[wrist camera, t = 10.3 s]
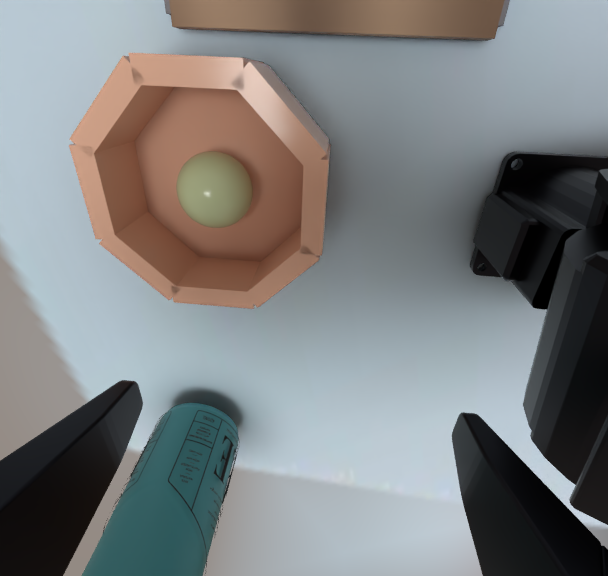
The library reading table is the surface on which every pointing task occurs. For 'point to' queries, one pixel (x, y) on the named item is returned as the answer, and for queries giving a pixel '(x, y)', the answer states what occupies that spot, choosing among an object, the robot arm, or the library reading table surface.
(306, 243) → the bowl
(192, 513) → the beverage bottle
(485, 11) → the lid
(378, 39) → the library reading table surface
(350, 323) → the library reading table surface
